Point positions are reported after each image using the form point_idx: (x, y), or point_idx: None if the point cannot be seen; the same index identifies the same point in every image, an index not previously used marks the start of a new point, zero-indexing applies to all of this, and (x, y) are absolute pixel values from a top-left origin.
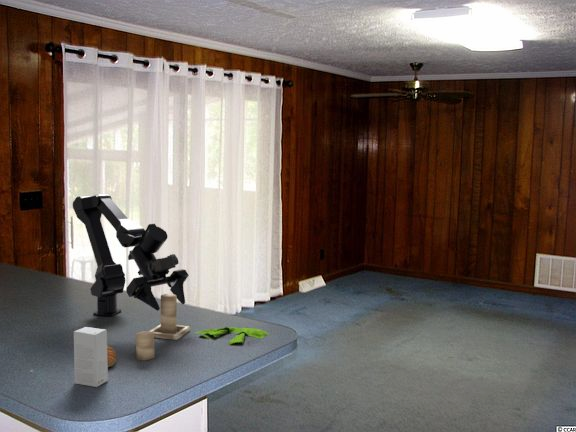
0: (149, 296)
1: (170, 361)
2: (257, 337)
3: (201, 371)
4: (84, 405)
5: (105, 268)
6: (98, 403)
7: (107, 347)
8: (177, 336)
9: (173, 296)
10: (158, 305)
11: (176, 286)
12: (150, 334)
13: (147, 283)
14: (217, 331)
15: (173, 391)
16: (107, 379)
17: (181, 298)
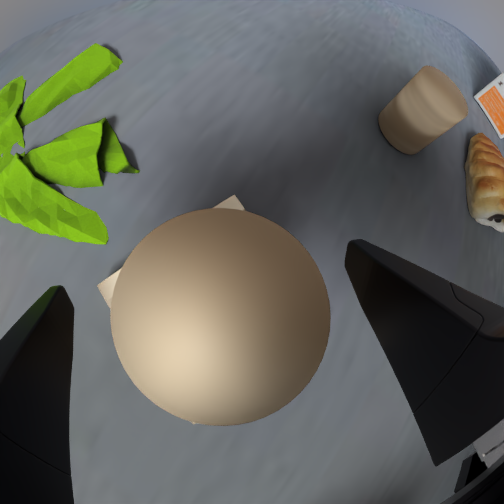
0: (475, 302)
1: (349, 66)
2: (23, 82)
3: (308, 2)
4: (487, 70)
5: None
6: (474, 59)
7: (498, 179)
8: (227, 201)
9: (182, 247)
10: (367, 250)
11: (7, 470)
12: (430, 72)
13: (502, 499)
14: (56, 159)
15: (383, 3)
16: (475, 95)
17: (52, 329)
